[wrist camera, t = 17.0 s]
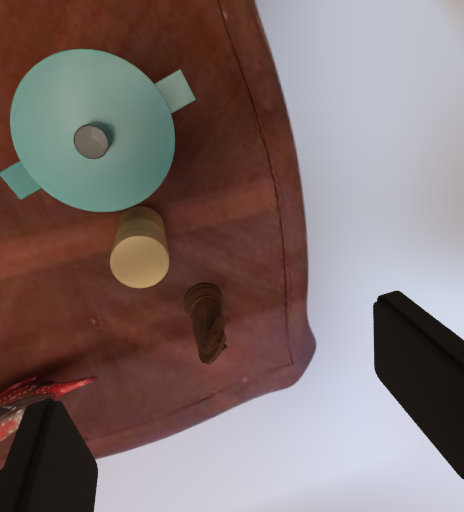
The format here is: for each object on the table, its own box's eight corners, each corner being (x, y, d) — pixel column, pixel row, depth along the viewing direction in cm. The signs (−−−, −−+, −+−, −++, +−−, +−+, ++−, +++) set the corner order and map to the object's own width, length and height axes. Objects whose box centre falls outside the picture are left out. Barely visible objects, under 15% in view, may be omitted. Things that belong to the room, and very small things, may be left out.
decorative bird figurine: (-43, 401, 41) (-95, 485, 32) (97, 332, 42) (84, 395, 33) (-25, 417, 43) (-70, 501, 34) (110, 349, 43) (101, 415, 34)
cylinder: (110, 212, 37) (101, 245, 29) (156, 200, 37) (160, 228, 29) (125, 254, 39) (121, 295, 31) (169, 242, 39) (176, 279, 31)
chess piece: (228, 290, 43) (250, 341, 35) (208, 324, 45) (225, 380, 36) (195, 277, 42) (209, 326, 33) (175, 312, 43) (183, 368, 34)
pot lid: (-24, 100, 25) (-54, 101, 21) (119, 18, 25) (115, 4, 21) (81, 233, 30) (72, 252, 26) (199, 165, 30) (208, 175, 26)
